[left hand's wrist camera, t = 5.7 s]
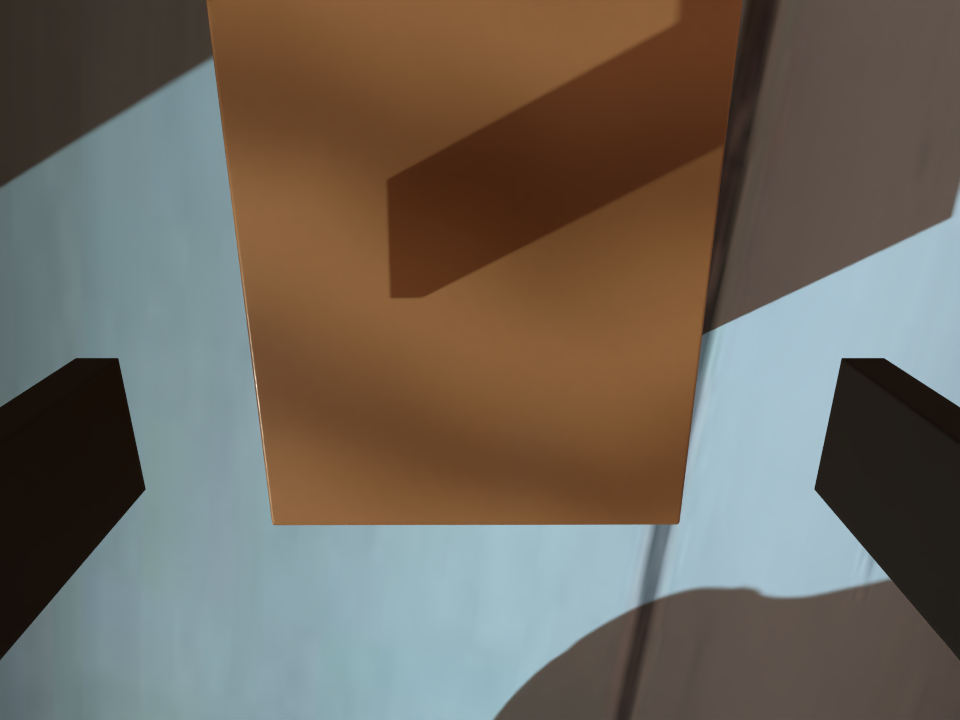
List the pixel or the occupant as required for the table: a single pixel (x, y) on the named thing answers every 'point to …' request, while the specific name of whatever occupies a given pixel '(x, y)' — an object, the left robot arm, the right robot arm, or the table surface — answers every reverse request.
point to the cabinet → (475, 250)
